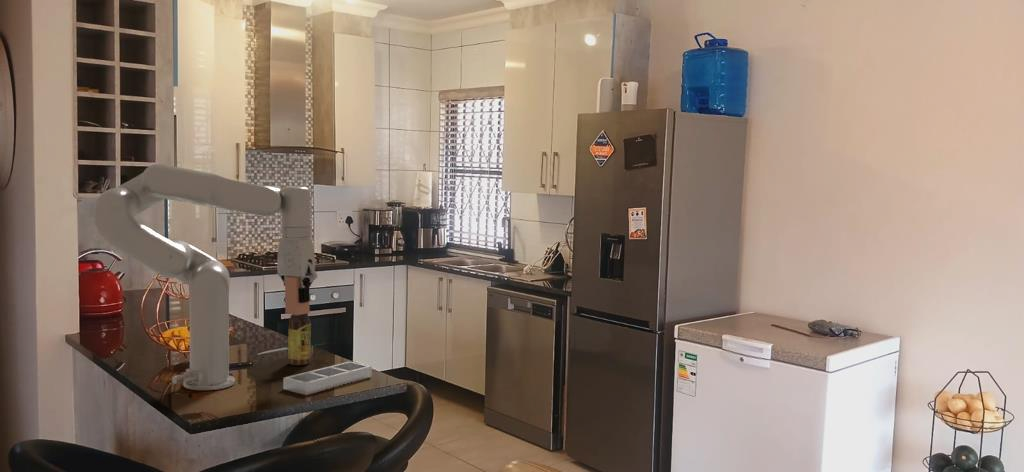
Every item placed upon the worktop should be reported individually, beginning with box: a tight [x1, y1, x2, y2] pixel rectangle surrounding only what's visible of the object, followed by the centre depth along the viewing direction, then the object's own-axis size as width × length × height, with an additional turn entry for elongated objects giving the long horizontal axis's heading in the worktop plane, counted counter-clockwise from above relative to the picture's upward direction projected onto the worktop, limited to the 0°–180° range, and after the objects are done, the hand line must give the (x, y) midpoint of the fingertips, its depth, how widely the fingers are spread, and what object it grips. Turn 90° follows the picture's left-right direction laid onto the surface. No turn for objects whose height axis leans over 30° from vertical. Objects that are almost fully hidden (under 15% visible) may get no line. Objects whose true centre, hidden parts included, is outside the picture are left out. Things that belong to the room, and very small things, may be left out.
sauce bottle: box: [287, 313, 312, 366], centre depth 231 cm, size 6×6×20 cm
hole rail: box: [283, 360, 373, 396], centre depth 212 cm, size 23×9×3 cm, turn 146°
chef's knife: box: [256, 347, 288, 355], centre depth 248 cm, size 19×1×3 cm
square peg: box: [284, 275, 311, 315], centre depth 212 cm, size 4×4×10 cm
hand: (297, 300), depth 212 cm, fingers closed on square peg, 4 cm apart
